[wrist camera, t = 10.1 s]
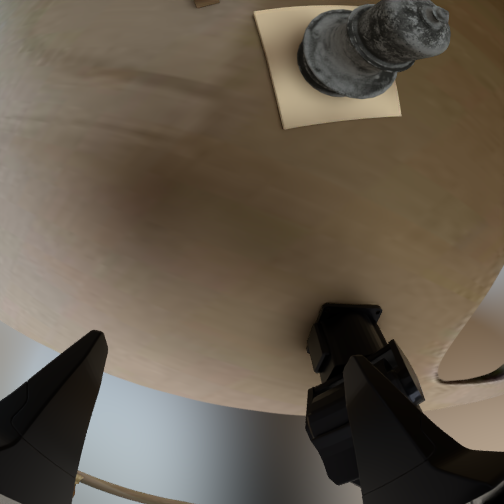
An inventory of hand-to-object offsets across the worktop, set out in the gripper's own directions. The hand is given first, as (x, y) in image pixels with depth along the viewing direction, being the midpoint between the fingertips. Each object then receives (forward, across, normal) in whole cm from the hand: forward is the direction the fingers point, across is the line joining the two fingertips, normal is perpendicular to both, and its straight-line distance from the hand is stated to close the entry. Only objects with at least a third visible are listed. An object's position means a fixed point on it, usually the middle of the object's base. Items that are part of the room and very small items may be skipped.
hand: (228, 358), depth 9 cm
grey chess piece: (+13, -5, -12) cm, 18 cm away
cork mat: (+13, -5, -13) cm, 19 cm away
